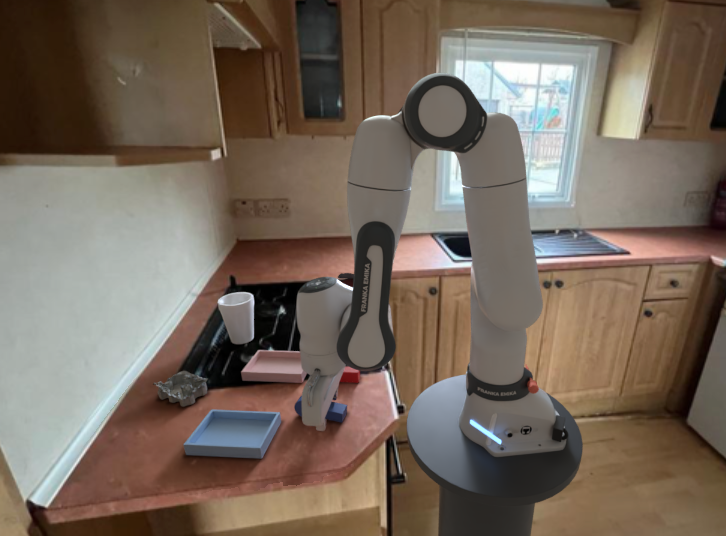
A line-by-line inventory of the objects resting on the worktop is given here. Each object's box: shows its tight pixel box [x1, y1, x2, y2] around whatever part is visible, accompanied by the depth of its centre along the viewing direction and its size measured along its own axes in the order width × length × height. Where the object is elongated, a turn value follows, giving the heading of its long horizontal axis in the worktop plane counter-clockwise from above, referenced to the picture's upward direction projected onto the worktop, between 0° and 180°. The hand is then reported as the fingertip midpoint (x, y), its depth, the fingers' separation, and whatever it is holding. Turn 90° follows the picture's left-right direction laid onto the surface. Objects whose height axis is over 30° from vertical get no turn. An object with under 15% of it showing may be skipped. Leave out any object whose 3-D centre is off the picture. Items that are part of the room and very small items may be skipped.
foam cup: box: [217, 291, 255, 345], centre depth 119 cm, size 10×9×13 cm
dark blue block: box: [293, 395, 348, 423], centre depth 90 cm, size 11×4×3 cm
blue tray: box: [183, 408, 282, 460], centre depth 84 cm, size 15×10×3 cm
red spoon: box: [339, 366, 361, 384], centre depth 102 cm, size 11×4×3 cm, turn 86°
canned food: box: [337, 272, 354, 287], centre depth 154 cm, size 11×10×10 cm
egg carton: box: [152, 370, 209, 408], centre depth 96 cm, size 11×8×4 cm
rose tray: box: [240, 349, 308, 384], centre depth 106 cm, size 15×10×3 cm
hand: (327, 412), depth 87 cm, fingers open, 8 cm apart
